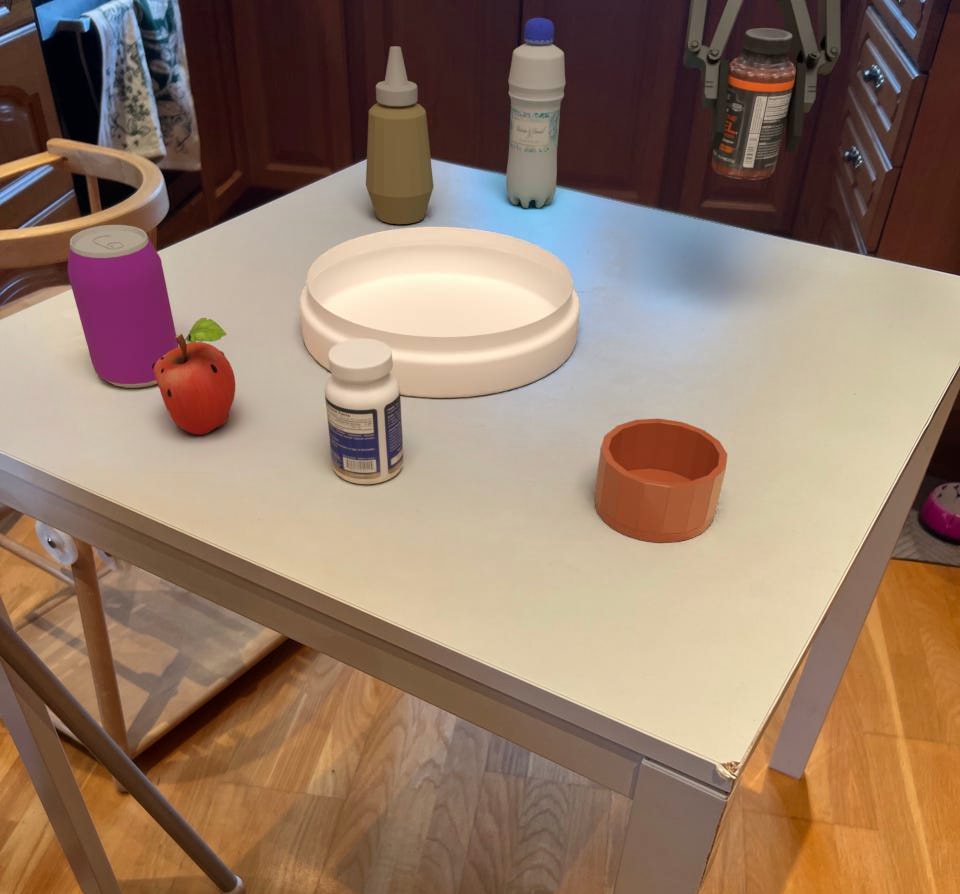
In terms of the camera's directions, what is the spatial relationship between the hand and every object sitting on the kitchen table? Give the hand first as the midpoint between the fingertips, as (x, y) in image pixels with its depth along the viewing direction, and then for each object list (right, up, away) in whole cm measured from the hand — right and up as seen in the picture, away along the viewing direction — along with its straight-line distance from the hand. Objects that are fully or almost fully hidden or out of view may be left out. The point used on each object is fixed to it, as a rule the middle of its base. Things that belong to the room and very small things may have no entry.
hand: (755, 142), depth 86 cm
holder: (-11, -34, -11) cm, 37 cm away
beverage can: (-55, -20, +3) cm, 59 cm away
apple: (-48, -26, -4) cm, 54 cm away
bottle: (-18, +11, +37) cm, 43 cm away
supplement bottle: (0, 0, +5) cm, 5 cm away
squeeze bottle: (-34, +7, +32) cm, 48 cm away
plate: (-28, -14, +10) cm, 33 cm away
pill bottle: (-33, -30, -8) cm, 46 cm away
